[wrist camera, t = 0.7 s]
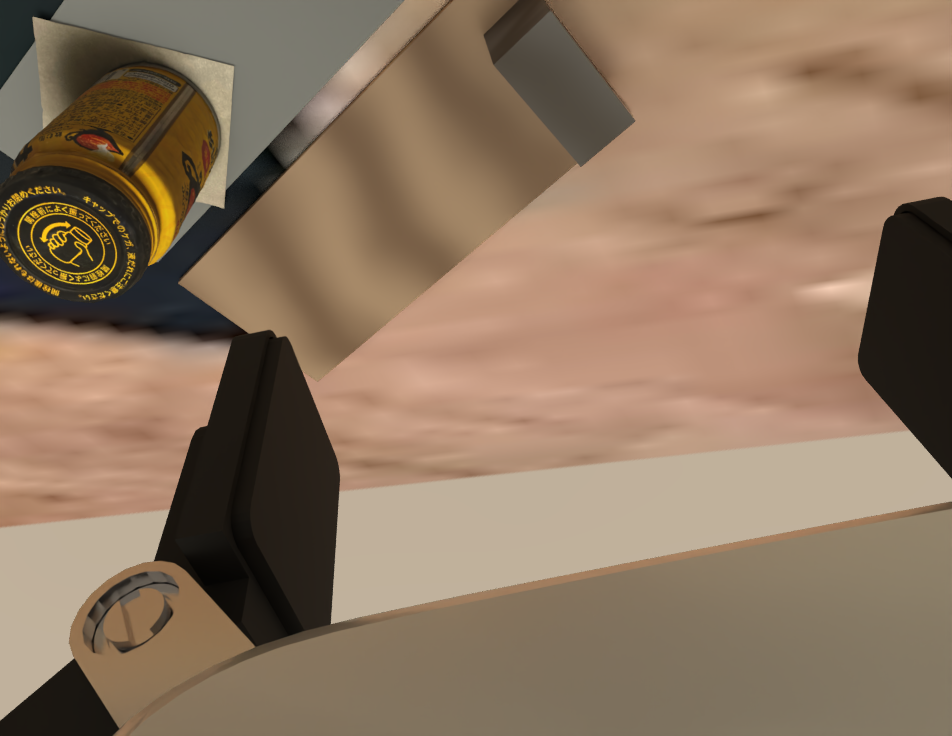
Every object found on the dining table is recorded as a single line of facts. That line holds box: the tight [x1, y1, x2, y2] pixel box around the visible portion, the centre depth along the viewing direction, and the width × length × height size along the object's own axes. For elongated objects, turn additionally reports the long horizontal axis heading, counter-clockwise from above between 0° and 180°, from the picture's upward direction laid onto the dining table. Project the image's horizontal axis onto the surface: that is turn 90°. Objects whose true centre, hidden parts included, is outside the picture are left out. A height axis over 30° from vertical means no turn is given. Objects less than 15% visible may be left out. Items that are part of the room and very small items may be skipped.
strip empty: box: [178, 0, 635, 382], centre depth 37 cm, size 24×10×6 cm, turn 132°
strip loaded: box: [0, 0, 404, 262], centre depth 31 cm, size 24×10×6 cm, turn 132°
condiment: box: [0, 17, 234, 303], centre depth 30 cm, size 7×8×12 cm
